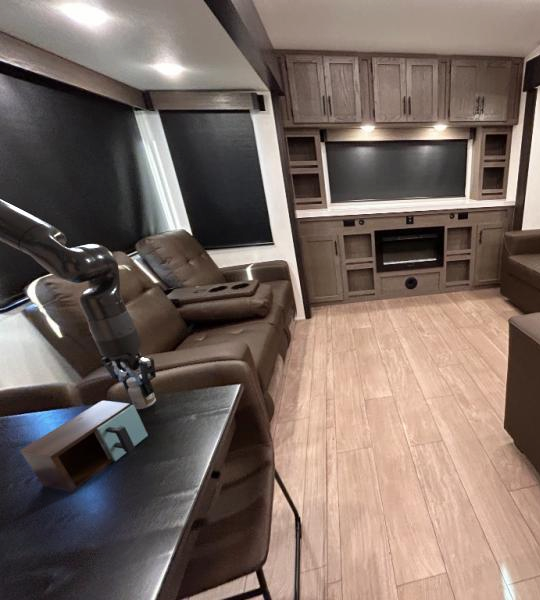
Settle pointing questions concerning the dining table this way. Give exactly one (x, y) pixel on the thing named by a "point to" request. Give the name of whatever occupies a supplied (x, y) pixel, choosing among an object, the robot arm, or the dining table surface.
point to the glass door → (122, 432)
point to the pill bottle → (139, 394)
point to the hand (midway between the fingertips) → (141, 393)
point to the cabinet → (73, 449)
